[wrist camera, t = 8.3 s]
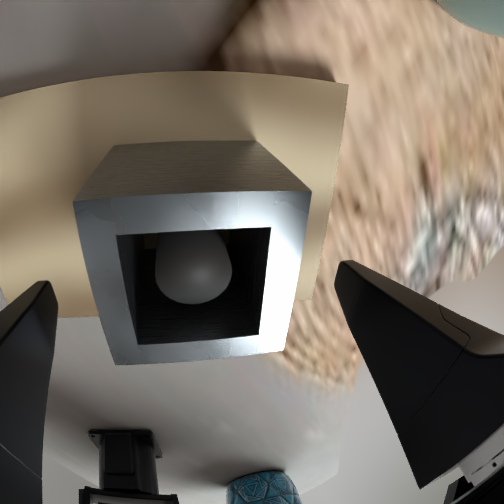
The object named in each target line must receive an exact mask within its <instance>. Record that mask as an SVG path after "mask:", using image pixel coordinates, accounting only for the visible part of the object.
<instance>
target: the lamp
mask: <svg viewBox="0 0 504 504" xmlns="http://www.w3.org/2000/svg"><path fill="white" fill-rule="evenodd" d="M226 502H227V504H302V502H301V499H300V497H299V494H298V492H297V490H296V488H295V486H294V484H293V482H292V480H291V479H290V477H289V476H288V475H286V474H285V473H283V472H278V471H269V472H261V473H256V474H251V475H248V476H244V477H241V478H239V479H237V480H235V481H233V482H231V483H230V484H229V486H228V487H227V491H226Z"/></svg>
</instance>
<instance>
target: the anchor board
mask: <svg viewBox="0 0 504 504" xmlns="http://www.w3.org/2000/svg"><path fill="white" fill-rule="evenodd" d="M348 86H349V85H347V84H342V83H336V82H330V81H324V80H317V79H310V78H302V77H294V76H285V75H275V74H264V73H249V72H229V71H170V72H150V73H136V74H125V75H115V76H106V77H98V78H91V79H84V80H78V81H72V82H66V83H60V84H55V85H50V86H45V87H41V88H36V89H32V90H28V91H23V92H19V93H16V94H12V95H8V96H4V97H1V98H0V287H1V289H2V292H3V294H4V296H5V299H6V301H7V303H8V305H9V304H10V303H11V302H12V301H14V300H15V299H16V298H17V297H18V296H20V295H21V294H22V293H23V292H24V291H26V290H27V289H28V288H29V287H31V286H32V285H33V284H34V283H36V282H37V281H42V280H48V281H50V282H51V284H52V287H53V290H54V293H55V295H56V298H57V301H58V317H91V316H99V314H98V311H97V307H96V304H95V300H94V297H93V293H92V290H91V286H90V282H89V278H88V274H87V270H86V266H85V262H84V258H83V253H82V249H81V244H80V239H79V234H78V229H77V224H76V219H75V213H74V207H73V200H74V198H75V197H76V196H77V194H78V193H79V191H80V190H81V188H82V187H83V185H84V184H85V183H86V181H87V180H88V178H89V177H90V176H91V174H92V173H93V172H94V170H95V169H96V168H97V166H98V165H99V164H100V162H101V161H102V160H103V158H104V157H105V156H106V155H107V153H108V152H109V151H110V149H111V148H112V147H113V146H114V145H124V144H137V143H153V142H173V141H211V140H239V141H258V142H259V143H260V144H261V145H262V146H263V147H265V148H266V149H267V150H268V151H269V152H270V153H271V154H272V155H274V156H275V157H276V158H277V159H278V160H279V161H280V162H281V163H283V164H284V165H285V166H286V167H287V168H288V169H289V170H290V171H291V172H292V173H293V174H295V175H296V176H297V177H298V178H299V179H300V180H301V181H302V182H303V183H304V184H305V185H306V186H307V187H308V188H309V189H311V190H312V196H311V202H310V209H309V215H308V221H307V227H306V233H305V239H304V245H303V251H302V257H301V262H300V268H299V274H298V279H297V284H296V290H295V295H294V300H293V301H300V300H308V299H312V294H313V290H314V285H315V281H316V276H317V272H318V267H319V262H320V258H321V253H322V248H323V243H324V238H325V233H326V228H327V222H328V217H329V212H330V206H331V201H332V195H333V189H334V184H335V178H336V172H337V165H338V159H339V153H340V146H341V139H342V132H343V125H344V118H345V110H346V102H347V94H348ZM143 235H144V244H145V249H154V248H156V265H155V278H156V282H157V285H158V286H159V288H160V290H161V291H162V292H163V293H164V294H165V295H166V296H167V297H169V298H170V299H172V300H174V301H177V302H180V303H185V304H199V303H204V302H207V301H210V300H212V299H214V298H215V297H217V296H218V295H220V294H221V293H222V292H223V291H224V290H225V289H226V287H227V286H228V284H229V282H230V280H231V276H232V266H231V262H230V259H229V256H228V252H227V249H226V246H225V244H229V229H213V230H193V231H175V232H158V233H143Z"/></svg>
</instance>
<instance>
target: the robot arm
mask: <svg viewBox="0 0 504 504" xmlns="http://www.w3.org/2000/svg"><path fill="white" fill-rule="evenodd" d="M334 287H335V290H336V293H337V296H338V299H339V301H340V304H341V307H342V310H343V313H344V315H345V318H346V321H347V324H348V326H349V328H350V331H351V333H352V335H353V337H354V339H355V341H356V343H357V345H358V348H359V350H360V352H361V354H362V356H363V358H364V360H365V362H366V365H367V367H368V369H369V371H370V373H371V375H372V378H373V380H374V382H375V384H376V387H377V388H378V391H379V393H380V395H381V398H382V400H383V402H384V405H385V407H386V409H387V411H388V414H389V416H390V418H391V421H392V423H393V425H394V428H395V430H396V432H397V434H398V438H399V440H400V442H401V445H402V447H403V450H404V452H405V454H406V457H407V459H408V462H409V464H410V467H411V469H412V472H413V475H414V477H415V479H416V482H417V485H418V487H419V489H422V488H424V487H426V486H428V485H429V484H431V483H433V482H435V481H436V480H438V479H439V478H441V477H443V476H445V475H446V474H448V473H450V472H451V471H453V470H454V469H456V468H457V467H460V469H461V471H462V473H463V474H464V476H462V477H461V478H459V479H458V480H456V481H455V482H453V483H452V484H450V485H449V486H448V490H447V494H446V497H445V501H444V504H504V335H502V334H499V333H497V332H495V331H493V330H491V329H488V328H487V327H484V326H482V325H480V324H478V323H476V322H474V321H471V320H469V319H467V318H465V317H463V316H460V315H459V314H457V313H455V312H453V311H451V310H449V309H447V308H445V307H443V306H442V305H440V304H437V303H436V302H434V301H432V300H430V299H428V298H426V297H424V296H422V295H421V294H419V293H417V292H415V291H413V290H411V289H409V288H407V287H405V286H403V285H401V284H399V283H397V282H395V281H393V280H391V279H389V278H387V277H385V276H383V275H381V274H379V273H377V272H375V271H373V270H371V269H369V268H367V267H365V266H363V265H361V264H359V263H357V262H355V261H353V260H346V261H341V262H340V263H339V266H338V270H337V274H336V278H335V282H334ZM57 317H58V301H57V298H56V295H55V293H54V290H53V287H52V284H51V282H50V281H48V280H42V281H37V282H36V283H34V284H33V285H32V286H31V287H29V288H28V289H27V290H26V291H24V292H23V293H22V294H21V295H20V296H18V297H17V298H16V299H15V300H14V301H12V302H11V303H10V304H9V305H8V306H6V307H5V308H4V309H3V310H2V311H1V312H0V504H42V479H41V478H42V452H43V435H44V422H45V412H46V403H47V395H48V387H49V380H50V374H51V368H52V362H53V356H54V348H55V337H56V327H57ZM88 436H89V437H90V439H91V440H92V441H93V443H94V444H95V445H96V446H97V448H98V449H99V489H96V488H90V487H88V486H85V489H79V504H93V503H96V504H179V501H178V497H177V494H171V495H159V490H158V481H157V472H156V462H155V458H162V453H161V450H160V448H159V446H158V444H157V442H156V439H155V437H154V435H153V433H152V432H151V431H93V430H91V431H88Z"/></svg>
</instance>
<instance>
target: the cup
mask: <svg viewBox="0 0 504 504" xmlns="http://www.w3.org/2000/svg"><path fill="white" fill-rule="evenodd" d="M436 1H437V2H438V3H439V5H440V6H441V7H442V8H443V9H444V10H445V11H446V12H447V13H448V14H449V15H450V16H452V17H453V18H455V19H456V20H458V21H459V22H460V23H462V24H464V25H466V26H468V27H470V28H473V29H475V30H478V31H481V32H483V33H486V34H490V35H493V36H497V37H501V38H504V0H436Z"/></svg>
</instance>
